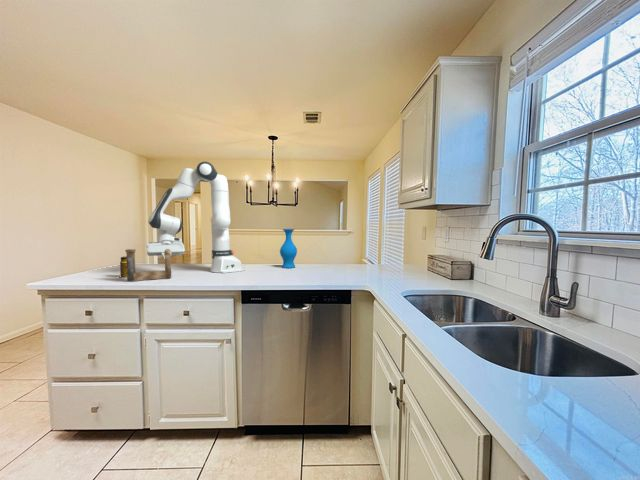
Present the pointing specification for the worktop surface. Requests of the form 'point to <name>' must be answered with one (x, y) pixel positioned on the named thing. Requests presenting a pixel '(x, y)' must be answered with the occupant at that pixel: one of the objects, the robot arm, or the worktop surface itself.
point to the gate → (150, 275)
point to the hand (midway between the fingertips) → (166, 259)
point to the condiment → (123, 267)
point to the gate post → (132, 254)
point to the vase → (288, 250)
